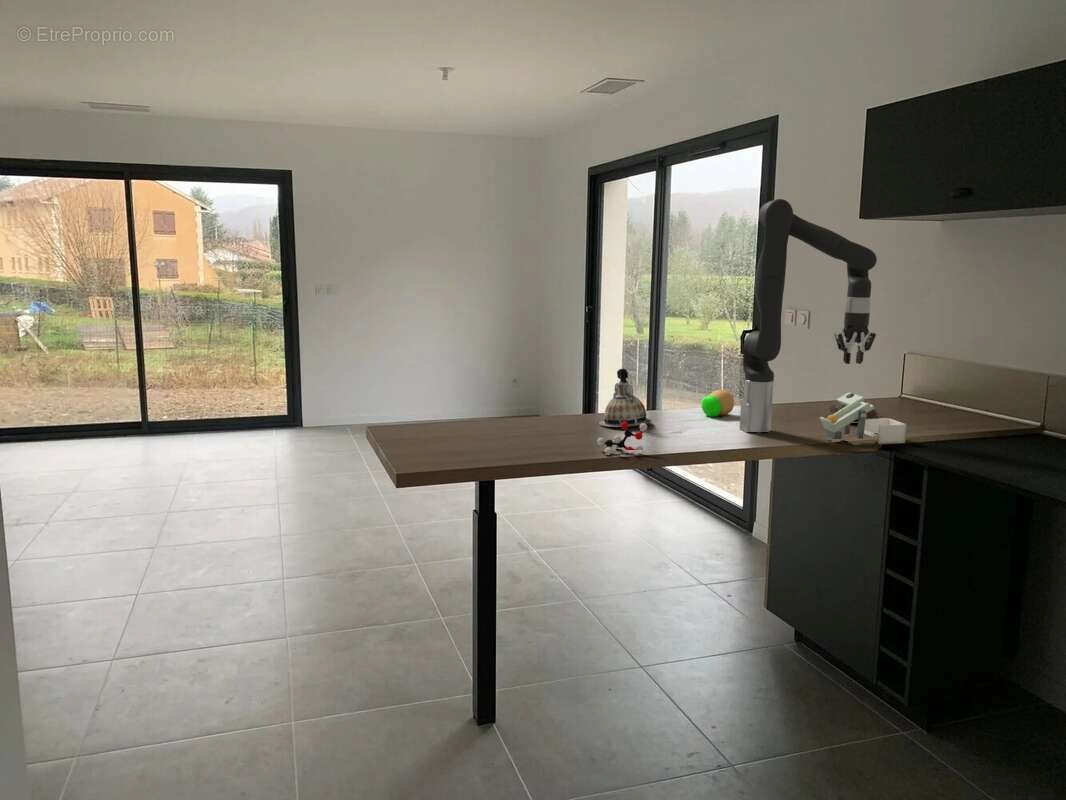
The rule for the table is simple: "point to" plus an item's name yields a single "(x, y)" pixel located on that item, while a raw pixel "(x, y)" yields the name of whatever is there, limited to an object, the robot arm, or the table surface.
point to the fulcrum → (847, 429)
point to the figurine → (624, 405)
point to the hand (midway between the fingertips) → (852, 363)
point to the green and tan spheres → (718, 403)
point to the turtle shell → (870, 415)
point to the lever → (847, 411)
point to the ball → (833, 418)
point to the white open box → (886, 430)
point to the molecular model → (619, 442)
